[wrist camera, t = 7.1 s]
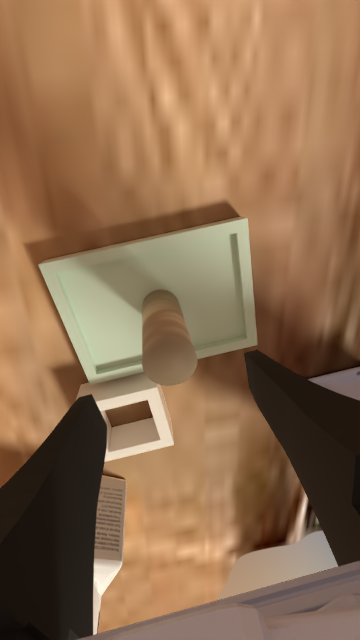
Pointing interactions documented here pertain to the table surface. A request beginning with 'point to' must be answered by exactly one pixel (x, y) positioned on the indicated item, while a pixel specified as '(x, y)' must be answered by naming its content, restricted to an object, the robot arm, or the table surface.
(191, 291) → the tray
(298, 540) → the table surface
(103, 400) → the square block with hole
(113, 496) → the container
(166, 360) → the dowel
